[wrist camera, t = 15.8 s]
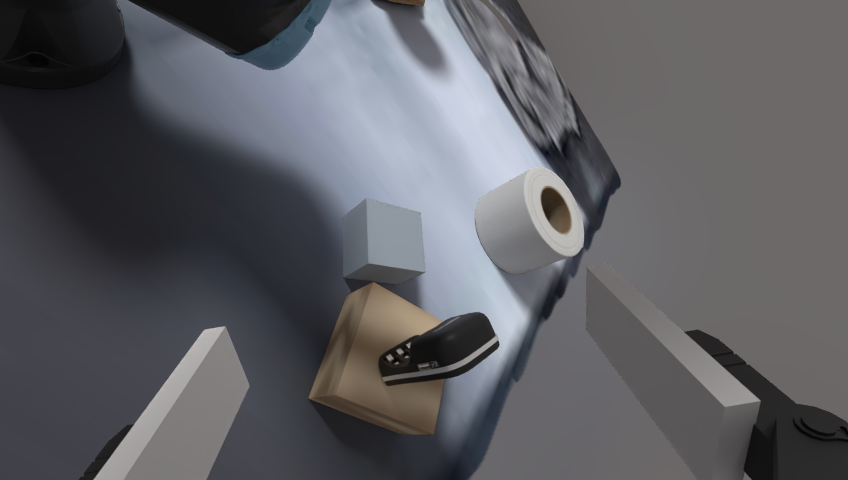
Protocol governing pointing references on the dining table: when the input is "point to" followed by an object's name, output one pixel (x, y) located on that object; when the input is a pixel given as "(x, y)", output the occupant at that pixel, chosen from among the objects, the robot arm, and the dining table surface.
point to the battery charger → (440, 351)
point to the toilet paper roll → (529, 222)
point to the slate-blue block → (382, 243)
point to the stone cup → (410, 2)
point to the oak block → (376, 364)
